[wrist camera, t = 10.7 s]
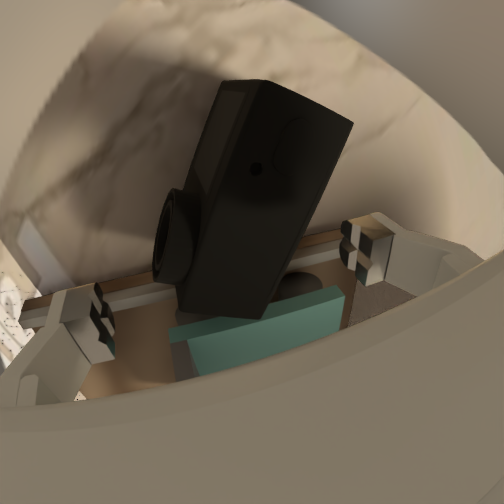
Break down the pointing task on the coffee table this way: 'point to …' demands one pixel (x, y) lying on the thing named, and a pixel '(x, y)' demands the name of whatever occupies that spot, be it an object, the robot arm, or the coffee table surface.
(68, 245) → the coffee table surface
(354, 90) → the coffee table surface
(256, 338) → the grey-edged teal panel
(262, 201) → the digital camera
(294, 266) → the cart track
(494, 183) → the coffee table surface
